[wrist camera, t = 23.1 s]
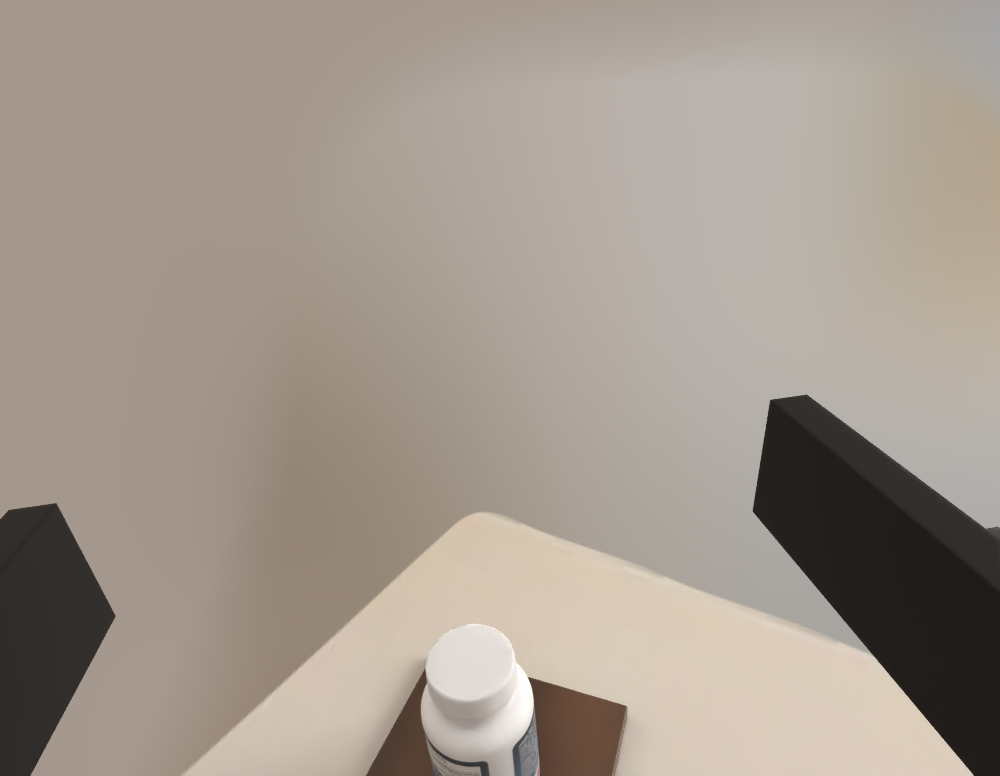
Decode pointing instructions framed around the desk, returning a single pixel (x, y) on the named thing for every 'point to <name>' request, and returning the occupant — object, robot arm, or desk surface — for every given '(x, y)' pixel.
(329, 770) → the desk surface
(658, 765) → the desk surface
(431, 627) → the desk surface
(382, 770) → the coaster
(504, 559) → the desk surface
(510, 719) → the pill bottle
